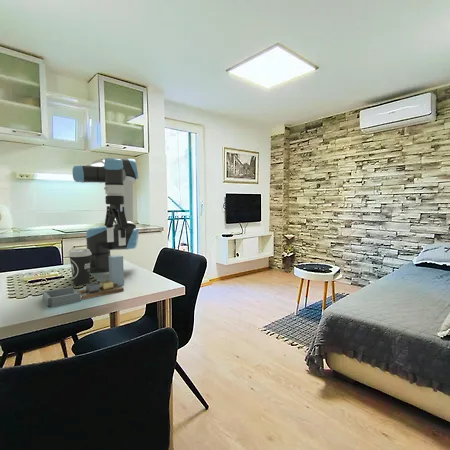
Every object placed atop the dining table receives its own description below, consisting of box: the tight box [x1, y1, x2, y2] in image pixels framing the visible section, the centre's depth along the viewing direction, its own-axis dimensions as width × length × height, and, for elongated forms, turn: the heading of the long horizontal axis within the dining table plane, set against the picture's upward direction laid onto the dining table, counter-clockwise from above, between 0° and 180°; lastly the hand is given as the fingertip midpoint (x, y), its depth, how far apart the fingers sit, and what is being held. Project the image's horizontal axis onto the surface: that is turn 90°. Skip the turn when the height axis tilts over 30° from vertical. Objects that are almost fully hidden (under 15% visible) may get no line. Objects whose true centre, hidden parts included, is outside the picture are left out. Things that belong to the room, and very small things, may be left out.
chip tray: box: [42, 286, 82, 308], centre depth 111 cm, size 11×10×3 cm
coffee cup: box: [68, 248, 92, 286], centre depth 134 cm, size 10×10×15 cm
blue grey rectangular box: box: [108, 254, 125, 287], centre depth 131 cm, size 4×5×13 cm
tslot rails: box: [76, 284, 125, 300], centre depth 120 cm, size 8×16×1 cm, turn 131°
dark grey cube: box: [85, 282, 100, 294], centre depth 118 cm, size 4×4×4 cm
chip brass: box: [99, 279, 114, 291], centre depth 122 cm, size 4×4×4 cm
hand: (116, 243), depth 129 cm, fingers open, 13 cm apart
